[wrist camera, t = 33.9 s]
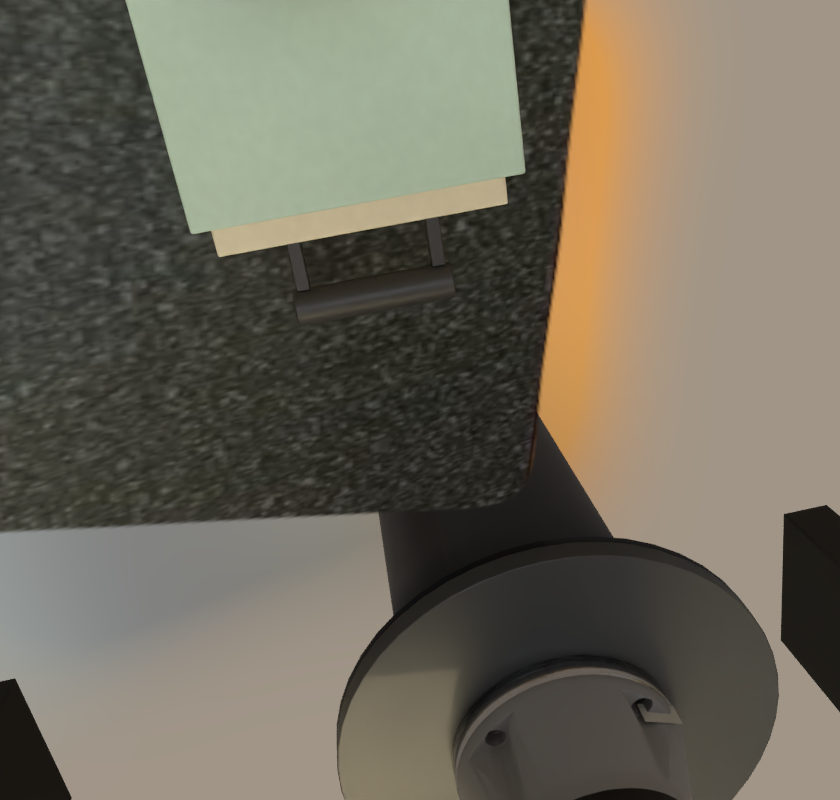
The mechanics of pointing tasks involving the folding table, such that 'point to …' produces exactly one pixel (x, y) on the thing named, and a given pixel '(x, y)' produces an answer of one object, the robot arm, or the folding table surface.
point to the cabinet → (327, 101)
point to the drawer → (364, 216)
